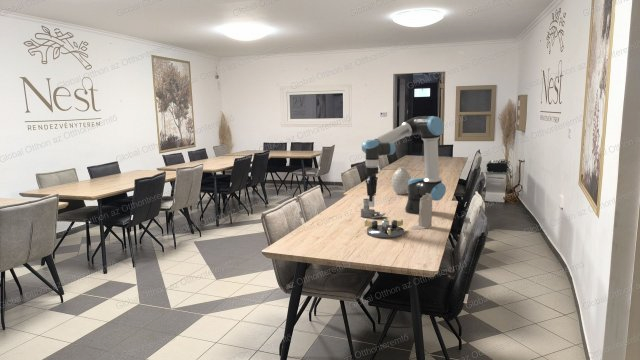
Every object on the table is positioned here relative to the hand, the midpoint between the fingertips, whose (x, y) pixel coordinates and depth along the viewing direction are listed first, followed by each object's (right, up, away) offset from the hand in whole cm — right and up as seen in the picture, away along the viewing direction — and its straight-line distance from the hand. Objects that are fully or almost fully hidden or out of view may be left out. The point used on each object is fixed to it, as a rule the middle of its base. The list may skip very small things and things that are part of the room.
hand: (371, 206), depth 246 cm
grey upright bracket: (+29, -13, +3) cm, 32 cm away
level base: (+7, -15, -7) cm, 18 cm away
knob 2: (+7, -14, -17) cm, 23 cm away
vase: (+37, +4, +101) cm, 108 cm away
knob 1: (-1, -12, -4) cm, 12 cm away
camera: (+4, -9, +28) cm, 30 cm away
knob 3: (+14, -12, -3) cm, 19 cm away
